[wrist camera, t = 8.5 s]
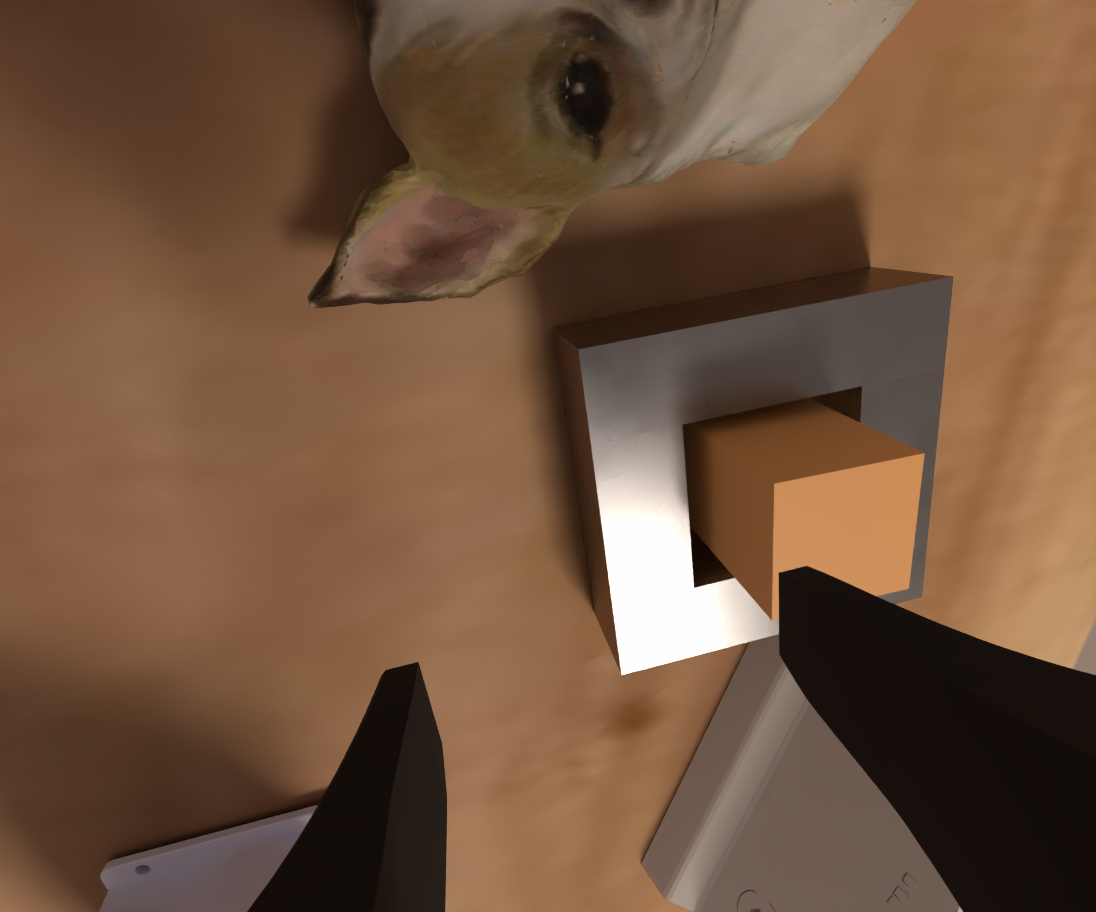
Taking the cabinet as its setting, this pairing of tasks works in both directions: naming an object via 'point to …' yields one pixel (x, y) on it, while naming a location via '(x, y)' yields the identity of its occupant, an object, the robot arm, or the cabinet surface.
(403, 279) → the ceramic sculpture
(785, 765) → the banded rounded wedge
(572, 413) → the socket block
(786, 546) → the orange square-section block
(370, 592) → the cabinet surface
